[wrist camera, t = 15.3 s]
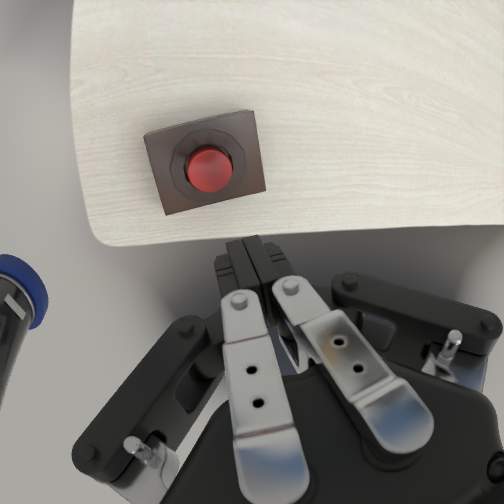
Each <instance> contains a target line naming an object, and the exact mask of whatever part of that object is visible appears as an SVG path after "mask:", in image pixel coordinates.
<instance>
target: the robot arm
mask: <svg viewBox="0 0 504 504" xmlns="http://www.w3.org/2000/svg"><path fill="white" fill-rule="evenodd" d="M226 248H227V252H228V254H224V255H220V256H217V257H216V260H215V262H214V267H215V271H216V276H217V280H218V285H219V289H220V293H221V297H222V301H221V306H220V308H219V309H218V311H217V312H216V313H215V314H213V315H212V316H210V317H208V318H206V319H204V320H203V319H201V318H200V317H198V316H193V315H192V316H191V315H190V316H184V317H181V318H179V319H177V320H176V321H174V322H173V323H172V324H171V325H170V327H169V328H168V329H167V330H166V331H165V333H164V334H163V335H162V336H161V337H160V338H159V340H158V341H157V342H156V343H155V345H154V346H153V347H152V348H151V349H150V351H149V352H148V353H147V354H146V356H145V357H144V358H143V359H142V360H141V362H140V363H139V364H138V365H137V367H136V368H135V369H134V370H133V371H132V373H131V374H130V375H129V376H128V377H127V379H126V380H125V381H124V382H123V384H122V385H121V386H120V387H119V389H118V390H117V391H116V392H115V394H114V395H113V396H112V397H111V398H110V400H109V401H108V402H107V403H106V405H105V406H104V407H103V408H102V410H101V411H100V412H99V413H98V415H97V416H96V417H95V418H94V420H93V421H92V422H91V423H90V425H89V426H88V427H87V428H86V430H85V431H84V432H83V433H82V435H81V436H80V437H79V438H78V440H77V441H76V442H75V444H74V446H73V449H72V461H73V463H74V465H75V467H76V468H77V469H78V470H79V471H80V472H82V473H84V474H86V475H88V476H90V477H92V478H93V479H95V480H96V481H97V482H100V483H102V484H104V485H106V486H108V487H110V488H112V489H113V490H115V491H116V492H117V493H119V494H120V495H121V496H122V497H124V498H125V499H126V500H128V501H129V502H130V503H132V504H504V449H503V446H502V443H501V439H500V435H499V430H498V421H497V415H496V411H495V409H494V406H493V405H492V403H491V402H490V400H489V399H488V398H487V397H486V396H485V395H483V394H482V392H483V387H484V381H485V375H486V369H487V362H488V356H489V354H490V352H491V351H492V349H493V347H494V346H495V344H496V342H497V340H498V339H499V337H500V335H501V333H502V330H503V326H502V323H501V321H500V319H499V318H498V317H497V316H496V315H495V314H494V313H492V312H490V311H487V310H484V309H481V308H477V307H474V306H470V305H467V304H464V303H460V302H457V301H454V300H450V299H447V298H443V297H440V296H437V295H433V294H430V293H426V292H422V291H419V290H416V289H413V288H409V287H405V286H402V285H398V284H395V283H392V282H388V281H385V280H381V279H378V278H374V277H370V276H367V275H364V274H360V273H356V272H343V273H339V274H338V275H336V276H335V277H334V278H333V279H332V284H330V285H311V284H309V282H308V281H307V280H306V279H305V278H302V277H300V276H298V275H297V274H296V272H295V271H294V269H293V268H292V266H291V264H290V263H289V261H288V260H287V259H286V256H285V255H284V254H283V252H282V250H281V249H280V247H279V246H277V245H275V244H274V243H272V242H270V243H266V244H262V242H261V240H260V238H259V236H258V235H254V236H250V237H246V238H243V239H242V240H241V239H239V240H235V241H231V242H227V243H226ZM365 313H367V314H370V315H373V316H376V317H380V318H382V319H386V320H389V321H390V322H392V323H393V324H394V325H395V327H391V326H388V325H385V324H382V323H379V322H376V321H373V320H370V319H367V318H364V314H365ZM35 315H36V306H35V302H34V299H33V297H32V295H31V293H30V292H29V290H28V289H27V288H26V287H25V285H24V284H23V283H22V282H21V281H19V280H18V279H17V278H16V277H14V276H12V275H11V274H8V273H6V272H1V271H0V410H1V405H2V402H3V398H4V395H5V391H6V388H7V385H8V382H9V379H10V376H11V373H12V370H13V367H14V365H15V362H16V359H17V356H18V353H19V351H20V349H21V346H22V344H23V341H24V339H25V336H26V334H27V332H28V329H29V327H30V325H31V324H32V322H33V320H34V318H35ZM267 321H268V323H267ZM268 324H269V326H270V327H273V326H276V327H277V329H278V331H279V338H280V342H281V343H282V345H283V347H284V349H285V351H286V353H287V355H288V356H289V358H290V360H291V362H292V364H293V365H294V367H295V369H296V371H297V373H298V374H297V375H288V376H281V375H280V370H279V367H278V363H277V360H276V356H275V352H274V349H273V345H272V342H271V338H270V335H269V333H268V331H267V328H268ZM224 371H225V374H226V382H227V390H228V398H229V399H228V400H227V401H225V402H224V403H223V404H222V405H221V406H220V407H219V408H218V409H217V410H216V411H215V412H214V413H213V415H212V416H211V418H210V419H209V421H208V423H207V425H206V426H205V428H204V430H203V432H202V433H201V435H200V437H199V438H198V440H197V442H196V444H195V445H194V447H193V449H192V451H191V452H190V454H189V455H188V457H187V459H186V461H185V462H184V464H183V466H182V467H181V469H180V470H179V472H178V474H177V476H176V473H177V471H178V469H179V459H178V456H177V455H176V453H175V451H176V450H177V448H178V447H179V445H180V444H181V442H182V441H183V439H184V438H185V436H186V435H187V433H188V432H189V430H190V428H191V427H192V425H193V424H194V422H195V421H196V419H197V418H198V416H199V415H200V413H201V411H202V410H203V408H204V407H205V405H206V404H207V402H208V400H209V399H210V397H211V396H212V394H213V393H214V391H215V389H216V388H217V386H218V385H219V383H220V381H221V380H222V378H223V375H224ZM175 476H176V477H175Z"/></svg>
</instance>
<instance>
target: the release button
mask: <svg viewBox="0 0 504 504" xmlns="http://www.w3.org/2000/svg"><path fill="white" fill-rule="evenodd" d="M231 175H232V166H231V163H230V161H229V159H228V157H227V156H226V155H225V154H224V153H223V152H222V151H221V150H220V149H218V148H215V147H204V148H201V149H199V150H197V151H196V152H194V153H193V154H192V156H191V157H190V159H189V162H188V177H189V180H190V182H191V184H192V185H193V186H194V187H195V188H197V189H198V190H200V191H203V192H215V191H218V190H220V189H222V188H223V187H224V186H225V185H226V184H227V183H228V182H229V180H230V178H231Z"/></svg>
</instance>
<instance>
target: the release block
mask: <svg viewBox="0 0 504 504" xmlns="http://www.w3.org/2000/svg"><path fill="white" fill-rule="evenodd" d="M144 141H145V145H146V149H147V152H148V156H149V160H150V164H151V167H152V171H153V174H154V178H155V182H156V185H157V188H158V192H159V195H160V199H161V202H162V205H163V209H164V212H165V215H166V216H167V215H171V214H174V213H178V212H182V211H185V210H189V209H193V208H197V207H201V206H205V205H209V204H213V203H217V202H221V201H225V200H229V199H233V198H237V197H242V196H246V195H250V194H255V193H259V192H264V191H266V187H265V180H264V174H263V167H262V161H261V154H260V148H259V142H258V135H257V129H256V123H255V117H254V111H251V110H244V111H239V112H233V113H228V114H223V115H218V116H213V117H209V118H204V119H200V120H195V121H191V122H187V123H183V124H179V125H175V126H171V127H168V128H164V129H161V130H157V131H154V132H150V133H147V134H146V135H145V136H144ZM204 147H215V148H218V149H220V150H221V151H222V152H223V153H224V154H225V155H226V156H227V157H228V159H229V161H230V163H231V166H232V175H231V178H230V180H229V182H228V183H227V184H226V185H225V186H224V187H223V188H222V189H220V190H218V191H215V192H203V191H200V190H198V189H197V188H195V187H194V186H193V185H192V184H191V182H190V180H189V177H188V162H189V159H190V157H191V156H192V154H193V153H194V152H196V151H197V150H199V149H201V148H204Z"/></svg>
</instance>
